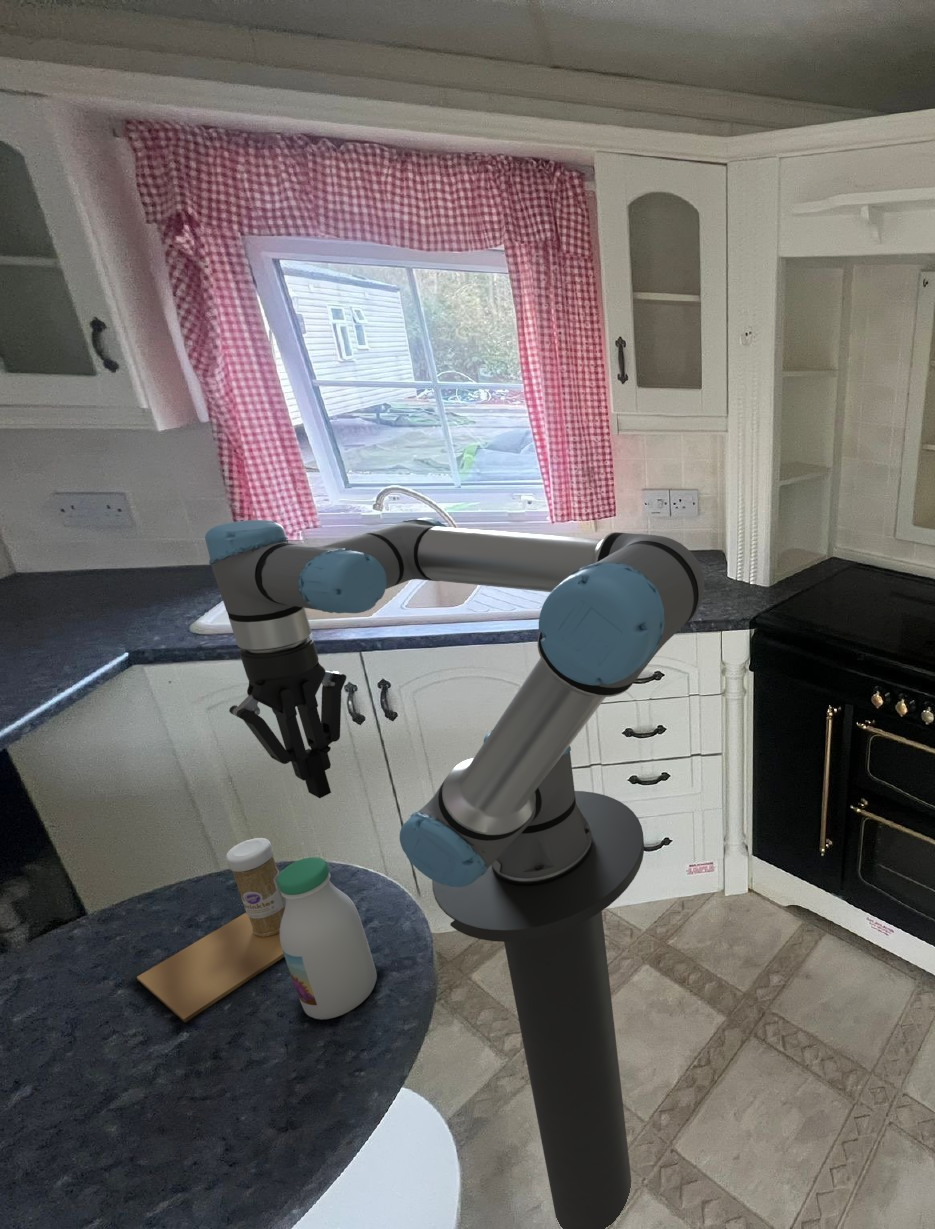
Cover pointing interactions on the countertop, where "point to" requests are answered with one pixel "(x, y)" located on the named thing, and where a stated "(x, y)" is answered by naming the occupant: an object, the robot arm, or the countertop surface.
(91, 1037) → the countertop surface
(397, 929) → the countertop surface
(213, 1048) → the countertop surface
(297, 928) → the milk bottle
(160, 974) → the cork mat
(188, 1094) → the countertop surface
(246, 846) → the sprinkles bottle
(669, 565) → the robot arm
